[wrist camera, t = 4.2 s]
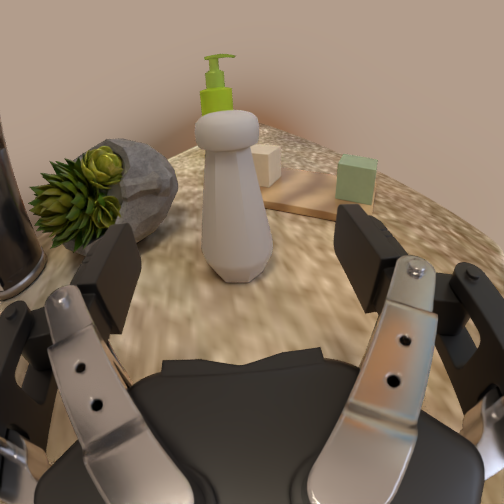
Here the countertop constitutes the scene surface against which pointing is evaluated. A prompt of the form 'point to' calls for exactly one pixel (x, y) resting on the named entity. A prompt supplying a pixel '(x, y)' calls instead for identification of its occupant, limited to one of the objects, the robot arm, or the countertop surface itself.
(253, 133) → the salt shaker
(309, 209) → the wood board
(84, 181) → the potted plant
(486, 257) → the countertop surface
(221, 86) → the soap dispenser
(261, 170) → the beige matte cube
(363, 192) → the sage green cube
